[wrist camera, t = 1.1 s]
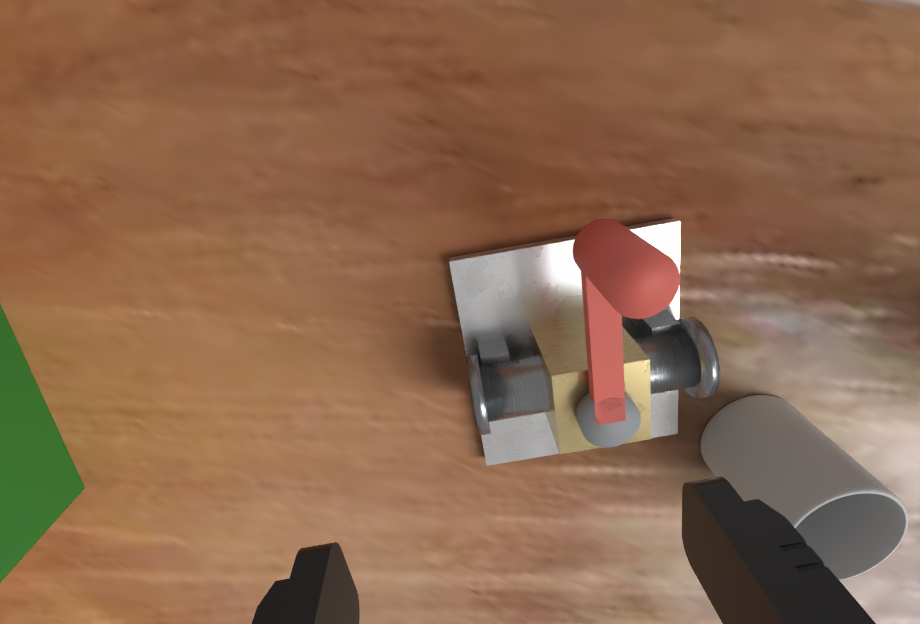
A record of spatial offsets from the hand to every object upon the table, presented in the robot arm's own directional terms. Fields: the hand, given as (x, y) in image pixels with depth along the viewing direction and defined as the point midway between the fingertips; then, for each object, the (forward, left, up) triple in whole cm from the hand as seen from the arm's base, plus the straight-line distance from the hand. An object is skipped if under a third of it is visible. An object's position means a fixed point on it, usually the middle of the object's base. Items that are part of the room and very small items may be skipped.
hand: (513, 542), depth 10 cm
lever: (-7, +5, -18) cm, 20 cm away
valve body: (-7, +11, -26) cm, 29 cm away
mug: (-21, +24, -26) cm, 41 cm away
